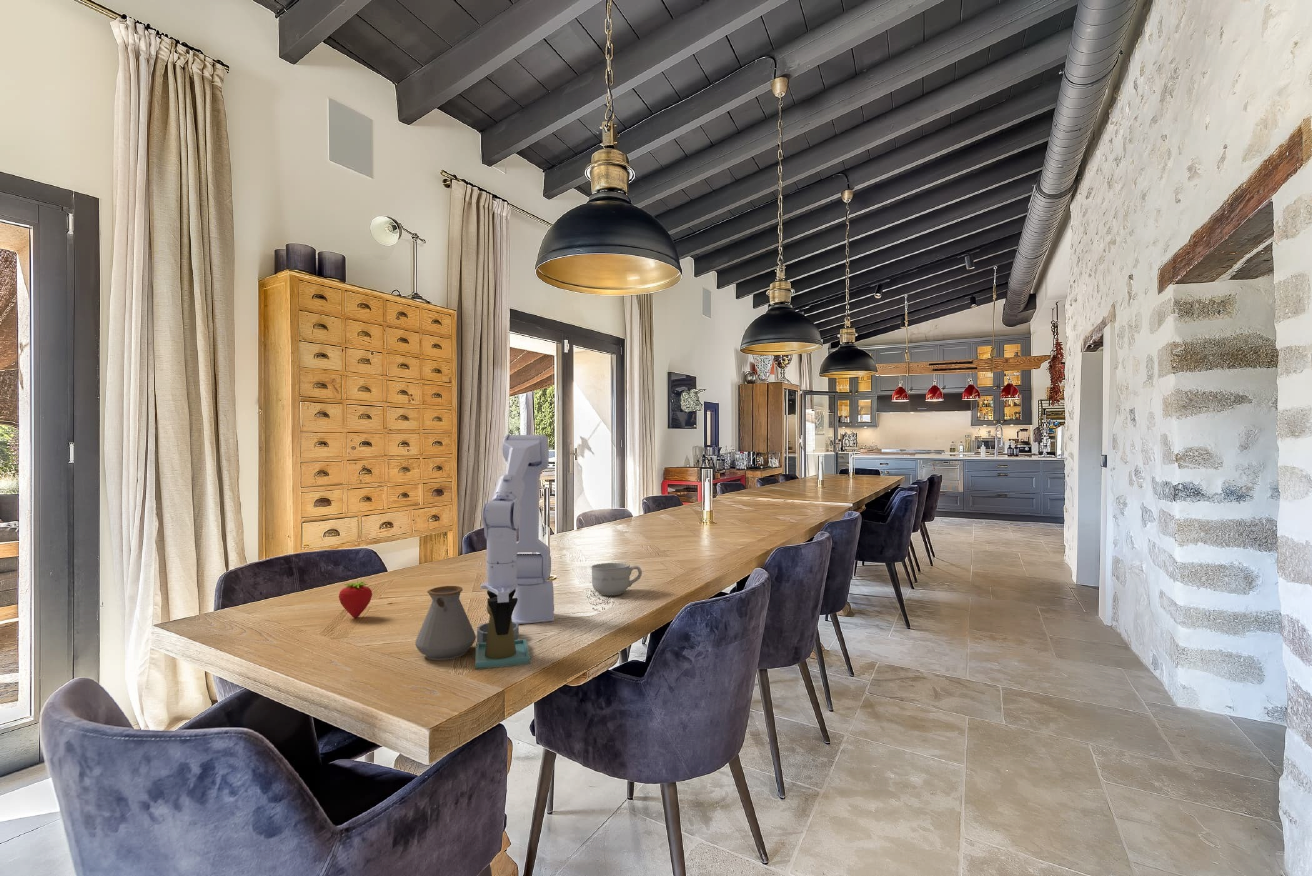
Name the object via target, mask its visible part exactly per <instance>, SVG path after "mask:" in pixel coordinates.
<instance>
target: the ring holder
mask: <svg viewBox="0 0 1312 876" xmlns="http://www.w3.org/2000/svg"><path fill="white" fill-rule="evenodd" d="M512 625H513V632H514V640H519V639H520V635H519V633H520V631H519V629H520V628H519V624H518V623H515V622H512ZM488 626H489V622H484V623H482V624H480V625H479V626H477V627H476V642H477V643H486V641H487V633H488ZM518 638H519V639H518Z"/></svg>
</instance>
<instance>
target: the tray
mask: <svg viewBox="0 0 1312 876" xmlns="http://www.w3.org/2000/svg"><path fill="white" fill-rule="evenodd" d="M515 647H516V654H515V655H513V656H511V657H508V658H503V659H491V658H487V657H485V649H486V643H478V642H477V643H475V662H474V663H475V664H474V665H475V668H474V669H475V670H479V669H480V670H482V669H489V668H490V669H491V668H500V667H508V666H511V667H512V666H519V665H527V664H528V665H529V664H531V655H530V651H529V647H528V642H527V639H526V638H519V639H517V640H515Z"/></svg>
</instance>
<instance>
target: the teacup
mask: <svg viewBox="0 0 1312 876" xmlns="http://www.w3.org/2000/svg"><path fill="white" fill-rule="evenodd" d="M590 568H591V584H592V585H591V586H592V588H593V589H594V590H595V592H597V594H599V595H600V594H601V596H619V595H622V594H624V593H625V591H627V589H628V588H630V587H632V585H633V584H635V583H636V582H638V581H639V580H640V578H641V577H642V575H643V571H642V569H641V567H640V566H638V565H633V566H631V565H630V564H628V563H626V562H625V563H624V562H603V563H596V564H594V565H591V566H590ZM633 570H637V572H638V574H637V576H636V577H635V578H633V579H631V574H632V571H633ZM621 593H622V594H621Z"/></svg>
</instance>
